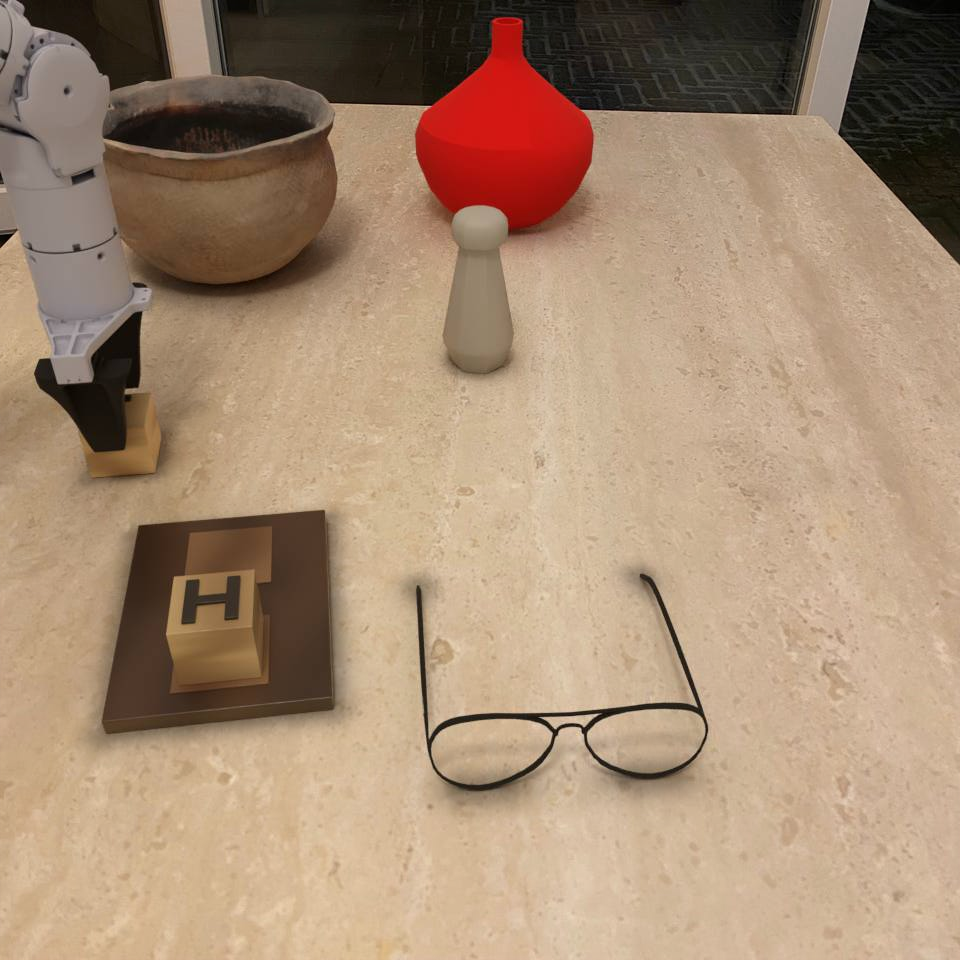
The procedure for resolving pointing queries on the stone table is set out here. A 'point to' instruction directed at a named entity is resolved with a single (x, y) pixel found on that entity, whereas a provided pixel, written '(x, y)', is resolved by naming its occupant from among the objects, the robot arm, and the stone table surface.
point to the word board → (286, 628)
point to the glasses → (535, 716)
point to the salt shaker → (478, 292)
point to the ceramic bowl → (219, 173)
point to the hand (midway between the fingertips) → (117, 416)
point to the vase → (505, 138)
